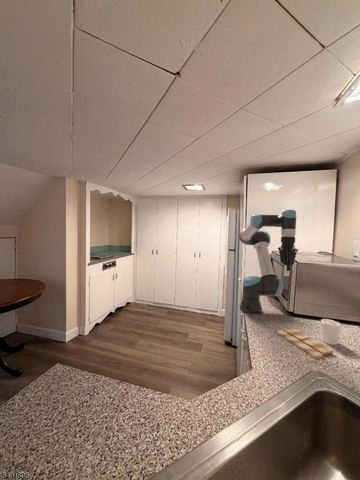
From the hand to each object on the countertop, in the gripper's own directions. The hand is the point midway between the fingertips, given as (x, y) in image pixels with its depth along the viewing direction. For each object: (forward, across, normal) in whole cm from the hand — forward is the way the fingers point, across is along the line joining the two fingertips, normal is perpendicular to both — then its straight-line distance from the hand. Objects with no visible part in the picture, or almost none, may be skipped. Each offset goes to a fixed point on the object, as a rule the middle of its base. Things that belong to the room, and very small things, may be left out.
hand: (286, 275), depth 121 cm
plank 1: (+29, +13, -5) cm, 32 cm away
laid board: (+29, +19, -11) cm, 37 cm away
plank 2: (+29, +25, -5) cm, 39 cm away
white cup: (+30, +22, +7) cm, 37 cm away
